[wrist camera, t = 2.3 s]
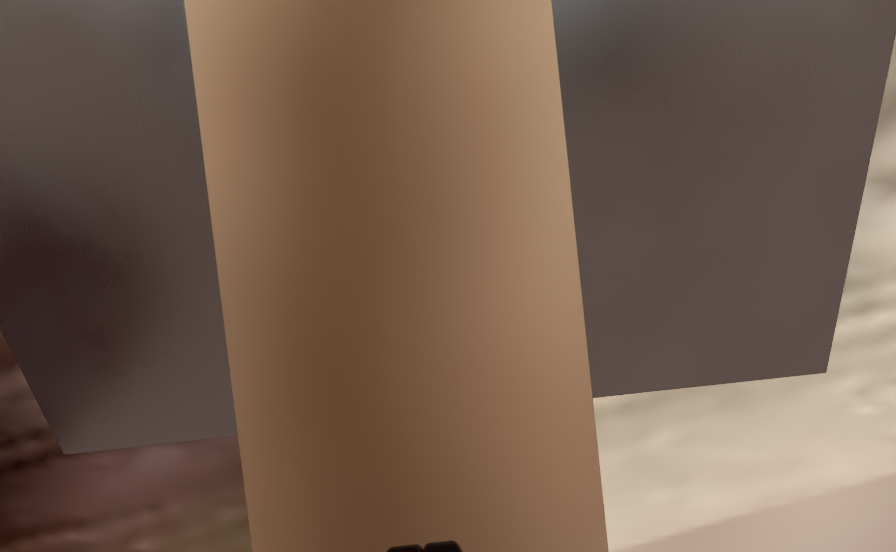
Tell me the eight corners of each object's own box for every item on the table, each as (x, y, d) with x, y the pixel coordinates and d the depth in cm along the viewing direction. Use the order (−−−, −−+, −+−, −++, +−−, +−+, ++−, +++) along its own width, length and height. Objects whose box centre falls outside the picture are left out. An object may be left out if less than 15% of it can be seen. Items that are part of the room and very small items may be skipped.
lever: (497, -378, 12) (504, -488, 10) (603, 638, 13) (627, 704, 11) (171, -338, 12) (122, -440, 10) (295, 670, 13) (268, 741, 11)
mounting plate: (990, -619, 11) (1249, -796, 8) (809, 349, 21) (890, 463, 18) (-347, -451, 12) (-670, -550, 8) (77, 428, 21) (12, 556, 18)
